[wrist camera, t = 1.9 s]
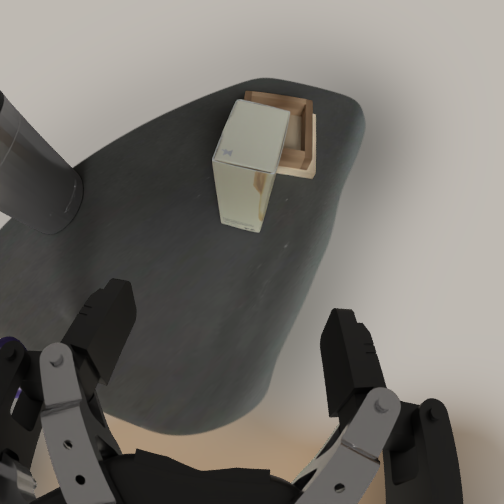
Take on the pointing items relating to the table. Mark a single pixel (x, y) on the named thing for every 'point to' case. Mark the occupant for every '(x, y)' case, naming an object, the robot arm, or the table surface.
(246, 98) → the wooden tray
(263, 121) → the skincare box
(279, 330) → the table surface
